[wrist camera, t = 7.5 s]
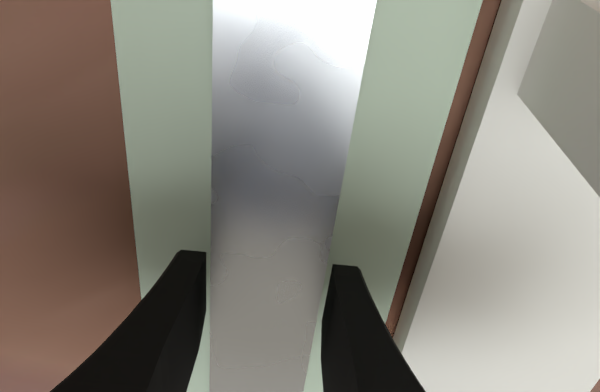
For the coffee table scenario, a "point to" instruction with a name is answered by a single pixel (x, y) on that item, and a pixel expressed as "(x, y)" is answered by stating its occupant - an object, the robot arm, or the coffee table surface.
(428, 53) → the mat
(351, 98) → the rail
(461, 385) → the rack
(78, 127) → the coffee table surface
